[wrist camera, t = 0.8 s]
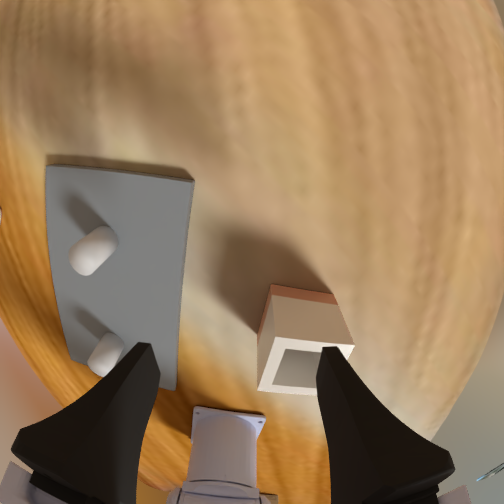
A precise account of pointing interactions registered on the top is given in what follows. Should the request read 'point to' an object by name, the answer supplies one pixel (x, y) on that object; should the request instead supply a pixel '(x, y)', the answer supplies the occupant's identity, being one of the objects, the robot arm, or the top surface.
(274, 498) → the skincare box
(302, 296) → the sleeve
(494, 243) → the top surface
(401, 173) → the top surface
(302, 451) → the top surface
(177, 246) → the pin board
